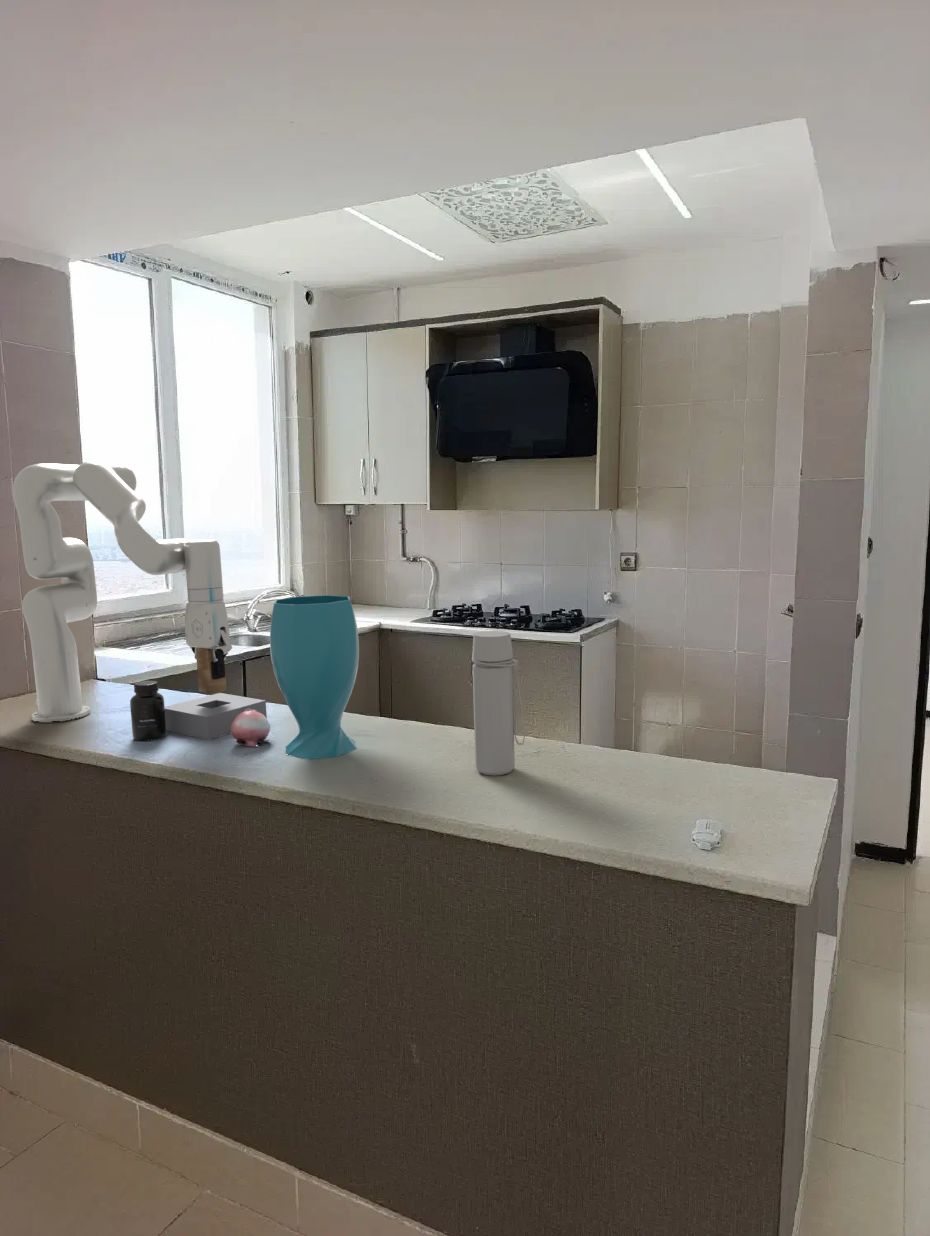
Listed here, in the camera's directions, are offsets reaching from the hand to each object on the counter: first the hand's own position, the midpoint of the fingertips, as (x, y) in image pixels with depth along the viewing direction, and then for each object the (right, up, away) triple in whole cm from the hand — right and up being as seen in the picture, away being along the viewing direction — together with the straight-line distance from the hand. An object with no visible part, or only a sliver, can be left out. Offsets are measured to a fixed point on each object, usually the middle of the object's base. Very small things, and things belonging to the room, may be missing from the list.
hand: (211, 676), depth 179 cm
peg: (0, -3, +1) cm, 3 cm away
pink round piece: (+12, -13, -13) cm, 22 cm away
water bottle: (+63, -15, -34) cm, 73 cm away
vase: (+28, -13, -17) cm, 35 cm away
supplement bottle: (-11, -13, -6) cm, 18 cm away
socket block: (0, -11, +2) cm, 11 cm away
